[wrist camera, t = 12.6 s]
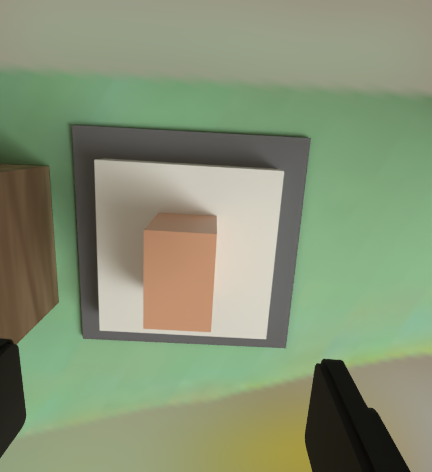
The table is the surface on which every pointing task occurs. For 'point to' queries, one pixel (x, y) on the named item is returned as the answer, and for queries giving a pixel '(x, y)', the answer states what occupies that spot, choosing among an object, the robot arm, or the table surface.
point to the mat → (193, 152)
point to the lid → (186, 247)
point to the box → (26, 249)
